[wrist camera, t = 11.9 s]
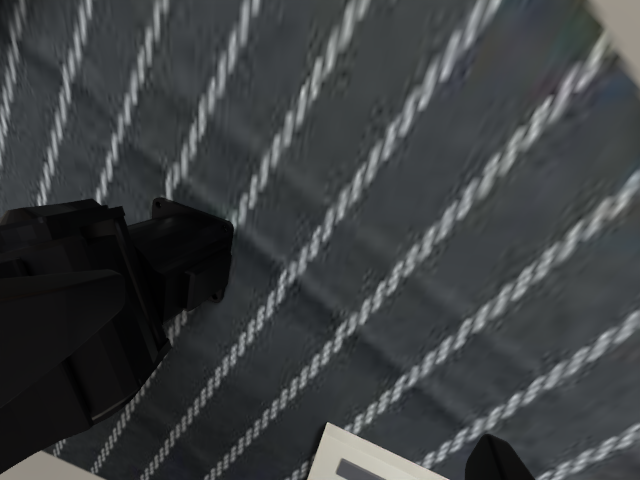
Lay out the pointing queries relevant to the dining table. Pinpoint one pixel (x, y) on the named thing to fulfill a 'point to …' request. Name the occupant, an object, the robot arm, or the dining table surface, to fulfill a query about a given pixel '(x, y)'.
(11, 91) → the dining table surface
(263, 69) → the dining table surface
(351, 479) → the letter card
